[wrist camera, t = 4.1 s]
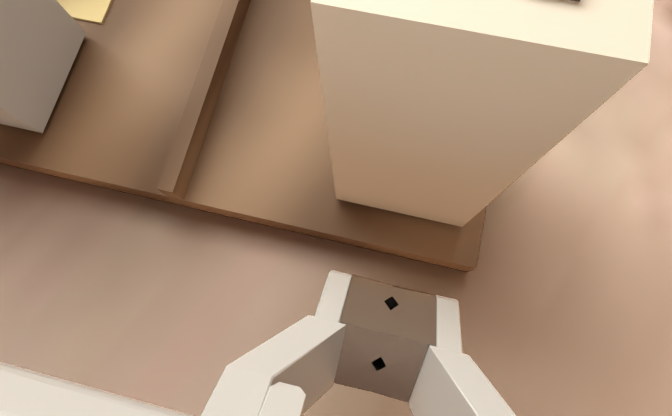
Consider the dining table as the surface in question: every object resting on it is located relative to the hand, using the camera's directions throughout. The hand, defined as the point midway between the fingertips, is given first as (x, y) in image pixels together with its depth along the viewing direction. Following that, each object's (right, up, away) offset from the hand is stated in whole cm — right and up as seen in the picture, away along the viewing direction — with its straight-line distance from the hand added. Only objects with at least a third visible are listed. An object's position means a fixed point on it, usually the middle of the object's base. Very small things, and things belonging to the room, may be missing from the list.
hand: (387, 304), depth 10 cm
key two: (+2, +4, +6) cm, 7 cm away
